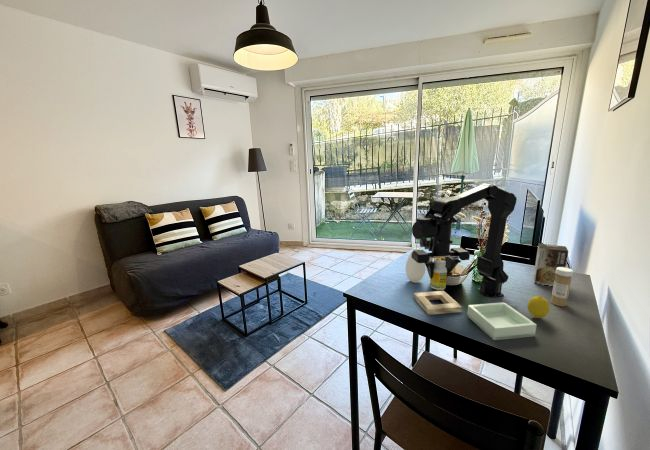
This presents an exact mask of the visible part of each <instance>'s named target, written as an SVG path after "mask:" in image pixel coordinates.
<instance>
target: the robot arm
mask: <svg viewBox="0 0 650 450" xmlns="http://www.w3.org/2000/svg"><path fill="white" fill-rule="evenodd" d="M482 200H485V201H486V202H487V209H488V211H489V213H490V221H489V227H488V233H487V239H486V242H485V243H486V244H485V250H484V253H483V254H482V255H481V256H477V260H476V264H475V266H476V269H477V271H478V276H480V277H481V281H480V287H478V288H477V290H478V291H479V292H480V293H482V294H483V295H485V296H487V297H488V298H494V297H495V298H496V297H504V296H505V294H504V293H503V292H502V287H503V284H505V283H507V282H508V280H509V275H508V274H507V273H506V271H505V270H504V261H503V259H502V256H501V253H502V246H503V242H504V241H503V240H504V235H505V232H506V225H507V221H508V220H507V219H508V217H509V216H510V215H511V214H512V213H513V212H514V210H515V208H516V204H517V200H518V199H517V196H516V195H515V194H514V193H513V192H509V191H506V190H504V189H502V188H500V187H498V186H496V185H494V184H492V183H481V184H480V185H478V186H476V187H474V188H470V189H469V190H466V191H463V192H462V193H459V194H456V195H455V196H454V195H453V196H444V197H439V198H436V199H435V200H433V201H432V203H431V206H430V208H429V209H428V211H427V212H426V214H425V215H424V216H423V217H424V218H421V217H420V218H419V217H418V218H416V219H415V222H414V223H413V224H412V226H411V233H412V236H413V238H414V239H416V240H419V247H421V248H424V249H420V250H414V251H413V250H412V251H413V252H412V251H411V252H412V255H411V258H413V259H414V260H415V261H416V262H417V263H425V269H426V270H427V274H428V276H429V279H430V278H431V279H432V277H433V272H434V265H435V263H434V260H433V259H440V258H444V261H445V262H446V266H445V267H446V269H447V278H448V277H449V276H450V274H451V272H452V271H453V270H454V269H455V268H456V267H457V266H458V264H460V263H461V262H462V261H469V260H470V256H471V254H470V252H469V251H468V250H466V249H464V248H462V247H452V248H451V244H453V240H452V239H451V237H452V228H453V227H452V226H453V224H455V223H456V224H457V223H458V222H459V221H458V220H457V219H456V218H455V216H456V215H458V214H459V213H460V212H461V210H462V209H463V208H465V207H468V206H470V205H472V204H475V203H477V202H479V201H482ZM428 239H430V240H428ZM425 250H428V251H429V252H426V251H425Z"/></svg>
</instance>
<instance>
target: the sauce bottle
mask: <svg viewBox="0 0 650 450" xmlns="http://www.w3.org/2000/svg"><path fill="white" fill-rule="evenodd" d="M415 243H416V244H415V247H413V248H412V250H411V251H410V253H409V255H408V256H407V259H406V262H405V267H404V268H405V274H406V278H407V279H408V280H409V281H410V282H411V283H413V284H417V283H420V281H422V280H423V279H424V276H425V273H426V265H425V263H417V262H416V261H415V260H414V259H413V258H411V255H412V252H413V251H414V250H421V249H420V248H419V247H418V243H417V242H415Z"/></svg>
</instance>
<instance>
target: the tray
mask: <svg viewBox="0 0 650 450" xmlns="http://www.w3.org/2000/svg"><path fill="white" fill-rule="evenodd" d="M466 316H467V317H468V318H469V319H470V321H472V323H474V324H475V325H477V327H479V329H480V330H482V331H483V332H484V333H485V334H486V335H487V336H488V337H490V339H492V340H493V341H500V340H501V341H502V340H511V339H512V340H513V339H521V338H522V339H523V338H531V337H535V335H536V332H537V326H538V325H537V323H535V322H533V320H531V319H529V318H528V317H526V316H525V315H523V314H522V313H521V312H519V311H517V310H516V308H513V307H512V306H511V305H509V304H508V303H506V302H491V303H479V304H477V303H476V304H468V306H467V314H466Z"/></svg>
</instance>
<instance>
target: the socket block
mask: <svg viewBox="0 0 650 450" xmlns="http://www.w3.org/2000/svg"><path fill="white" fill-rule="evenodd" d="M413 299H414V300H415V301H416V302H417V303H418V304H419V306H420V307H421V308H422V309H423V310H424V312H425V313H426V314H427V315H429V316H431V315H442V314H453V313H462V311H463V310H462V309H463V306H461V305H460V303H458V302H457V301H456V300H455V299H453V297H452V296H450V295H449V294H448V293H447V292H446V291H445V290H435V291H434V290H433V291H424V292H414V293H413ZM437 300H438V301H439V300H440V301H441V302H442V303H440V304H432V302H430V301H437Z"/></svg>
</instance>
